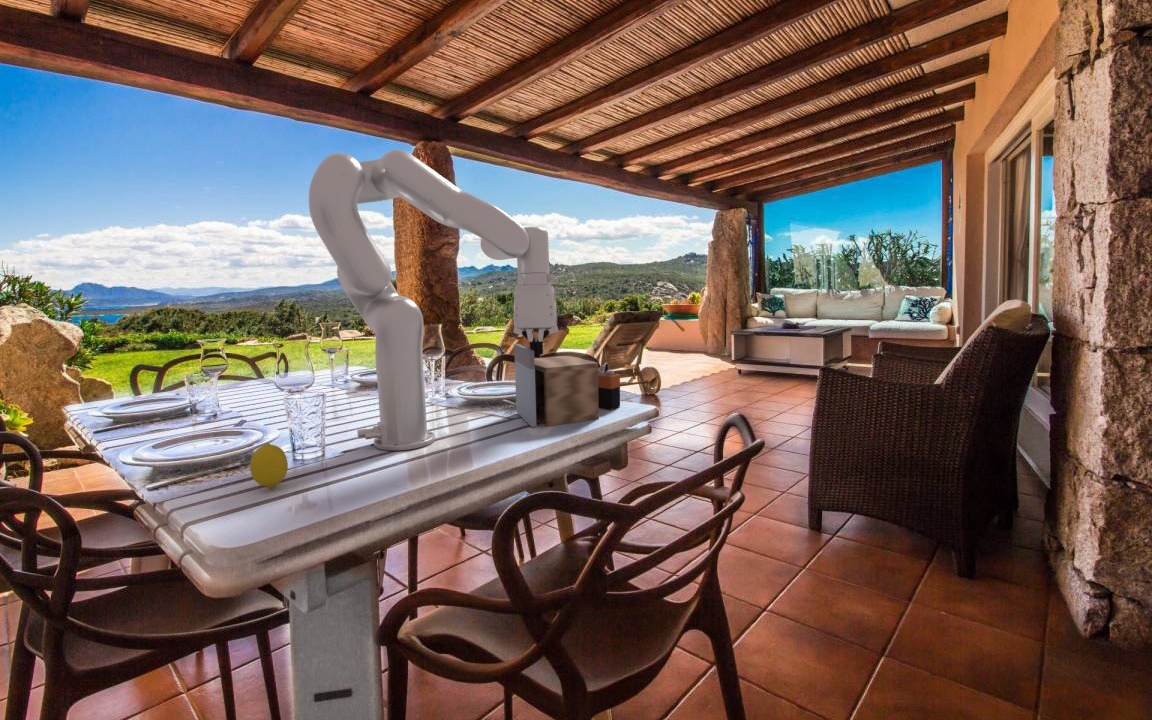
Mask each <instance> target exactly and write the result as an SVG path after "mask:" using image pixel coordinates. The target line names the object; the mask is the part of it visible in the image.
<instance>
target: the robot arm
mask: <svg viewBox="0 0 1152 720" xmlns="http://www.w3.org/2000/svg"><path fill="white" fill-rule="evenodd" d="M309 185H310V186H309V191H308V193H309V194H308V208H309V214H310V218H311V222H312V224H313V226H314V228H315V231H316V232H317V234H318V236H319V237H320V240H321V241H322V242H323V244H324V246H325V248H326V249H327V251H328V253H329V254H330V256H331V258H332V260H334V261H333V262H334V263H335V264H336V266H337V269H336V274H337V275H336V276H337V280H338V282H339V284H340V286H341V288H342V289H343V291H344V293H345V294H346V296H347V298H348V299H349V300H350V302H351V303H352V305H353V306H354V308H355V310H356V311H357V312H358V314H359V316H360V317H361V319H363V321H364V323H365V324H366V326H367V327H368V328H369V330H371V332H373V334H374V335H375V349H374V350H375V351H374V352H375V371H376V372H375V373H376V381H377V395H378V407H379V409H378V410H379V421H377V425H374V426H372V428H371V427H370V428H360V429H357V430H356V431H357V439H358V440H359V439H365V440H366V441H367V440H372V439H373V446H374V447H375V448H377V449H378V450H381V451H384V450H385V451H392V452H393V451H396V452H397V451H406V450H413V449H414V450H415V449H419V448H423V447H426V446H428V445H431V444H432V443H434V442H435V440H436V435H435V433H434V432H432V431H431V430H428V423H427V408H426V406H427V405H426V390H425V389H426V387H425V373H424V372H425V371H424V362H423V361H424V358H423V357H424V356H423V355H424V354H423V352H424V351H423V343H424V340H423V339H424V317H423V313H422V311H421V309H420V307H419V306H418V305H417V303H415V301H414V300H412V299H411V298H409V297H406V296H403V295H400V294H399V293H398V291H397V289H396V288H395V287H394V284H393V283H392V276H393V275H392V274H393V273H392V269H391V265H390V263H389V262H388V261H387V259H386V258H385V256H384V255H383V252H381V250H380V248H379V247H378V246H377V244H376V243H375V240H374V239H373V237H372V236H371V234H370V233H369V231H368V229H367V228H366V225H365V223H364V221H363V220H362V218H361V215H360V211H359V209H358V208H359V207H358V205H359V204H367V203H368V204H369V203H375V202H382V201H388V200H393V199H398V198H400V199H402V200H404V201H405V202H407V203H408V204H410V205H411V206H413V207H414V208H416V209H417V210H419V211H421V212H422V213H424V214H425V215H427V216H428V217H429V218H431V219H433V221H436V222H437V223H439V224H441V225H444V226H446V227H450V228H454V229H455V228H456V229H459V230H463V231H466V232H469V233H471V234H472V235H475V236H477V237H478V238H481V239H480V243H479V244H480V248H481V251H482V252H483V254H484V255H485V256H487V257H488V258H490V259H492V260H494V261H502V260H510V259H511V260H513V259H516V262H517V263H516V264H517V284H518V285H517V287H515V289H514V290H515V291H514V297H513V325H514V327H513V333H514V334H516V335H521V336H523V337H524V338H525V339H526V340H527V341H528V342H529V349H531V350H533V351H534V358H542V355H543V354H544V340H545V339H546V338H547V337H548V336H549V335H552V334H556V333H558V332H559V328H558V325H557V324H558V309H557V299H556V294H555V288H554V286H552V285H551V283H552V282H556V281H557V278H556V275H555V274H554V275H553V274H551V273H550V253H549V252H550V251H549V250H550V248H549V233H548V230H547V229H546V228H544V227H543V226H542V227H541V226H527V227H523V226H522V225H521V223H519V222H518V221H516V220H515V219H514V218H513V217H511V216H510V215H508V213H506V212H504V211H503V210H501V209H500V208H499V207H497V206H495V205H494V204H492V203H490V202H488V201H485V200H483V199H481V198H480V197H477V196H476V195H474V194H471V193H469V192H467V191H464V190H463V189H461V188H459V187H458V186H456V185H455V184H453V183H452V182H451V181H449V180H448V179H447V178H445V177H443V176H442V175H440V174H439V172H437V171H436V170H435V169H433V168H431V167H430V166H428V165H427V164H425V162H423V161H421V160H420V159H419V158H417V157H415V156H414V155H413V154H411V153H409V152H408V151H405V150H402V149H392V150H390V151H388V152H386V153H385V154H383V155H382V156H381V157H380V158H377V159H373V160H372V159H371V160H366V161H364V160H363V161H358V160H357V159H356V158H355V157H353V156H352V155H351V154H348V153H343V152H333V153H332V154H329V155H327V156H326V157H324V158H323V160H322V161H321V162H320V163H319V165H318V166H317V168H316V170H315V172H314V173H313V176H312V179H311V181H310V184H309ZM537 329H538V335H537V339H536V338H535V334H534V330H537Z"/></svg>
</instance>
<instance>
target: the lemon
mask: <svg viewBox="0 0 1152 720" xmlns="http://www.w3.org/2000/svg"><path fill="white" fill-rule="evenodd" d="M249 464H250V466H249V468H250V469H249V471H250V474H251V477H252V478H253V480H254V481H255V482H256V484H258V485H260V486H264V487H266V488H268V489H270V490H271V489H274V488H275V487H276V486H277V485H278V484H279V483H281V482H282V481H283V480H284V479H285V477H286V476H287V473H288V467H289V465H288V464H289V463H288V459H287V455H286V453H285V452H284V450H283V449H282V448H281V447H279V446H278V445H275V444H271V443H270V442H266V443H264V444H263V445H261V446H260V447H258V448H257V449H256V450H255V451H254V452H253V453H252V456H251V458H250V462H249Z"/></svg>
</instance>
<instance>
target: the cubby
mask: <svg viewBox="0 0 1152 720" xmlns="http://www.w3.org/2000/svg"><path fill="white" fill-rule="evenodd" d="M534 359H535V394H536V422H538V423H540V424H542V425H544V426H546V427H552V426H553V427H554V426H559V425H565V424H572V423H579V422H578V421H580V422H586V421H585V420H587V421H592V419H593V420H598V419H599V411H600V410H599V409H600V408H599V407H598V370H599V363H598V362H596V361H591V360H587V359H584V358H580V357H575V356H572V355H561V356H560V355H558V356H548V357H547V356H546V357H540V358H537V357H536V358H534Z"/></svg>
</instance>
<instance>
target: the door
mask: <svg viewBox="0 0 1152 720" xmlns="http://www.w3.org/2000/svg"><path fill="white" fill-rule="evenodd" d="M513 349H514V353H513V354H514V378H515V381H514V382H515V407H516V408H515V410H516V413H517V414H518V415H519V416H520V417H521V418H522V419H523V420H524V421H525V422H526V423H527V424H528V425H529V426H530V427H537V421H536V394H535V359H534V351H533V350H531V349H530V347H527V346H524V345H522V344H520V343H514V345H513Z"/></svg>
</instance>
